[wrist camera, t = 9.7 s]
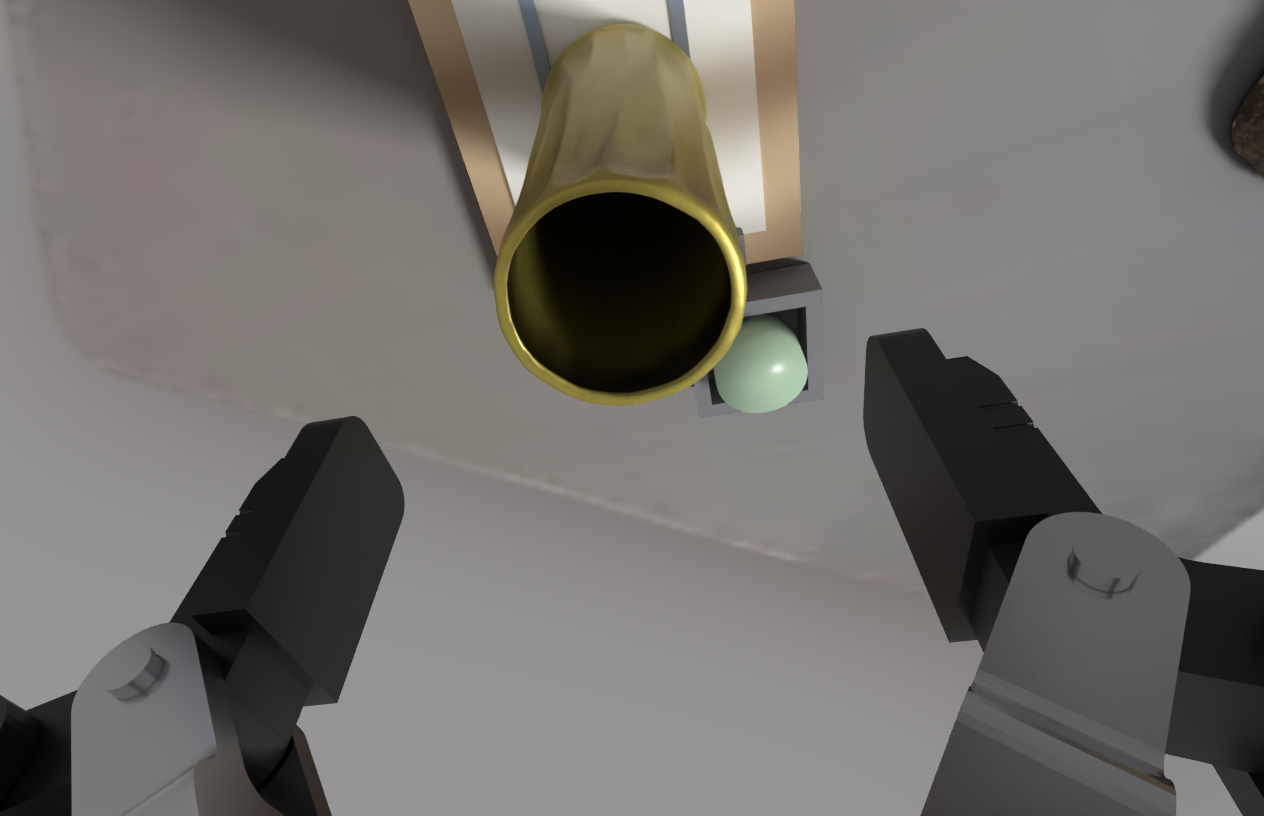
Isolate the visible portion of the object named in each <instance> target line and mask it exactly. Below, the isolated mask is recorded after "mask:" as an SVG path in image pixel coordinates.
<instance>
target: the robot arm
mask: <svg viewBox="0 0 1264 816" xmlns="http://www.w3.org/2000/svg"><path fill="white" fill-rule="evenodd" d="M863 420H864V431H865V437H866V442H867V446H868V449H869V452H870V455H871V458H872V460H873V462H874V465H875V467H876V470H877V472H878V474H879V477H880V479H881V481H882V484H883V486H884V489H885V491H886V493H887V496H888V498H889V500H890V503H891V505H892V508H893V510H894V512H895V515H896V517H897V519H898V522H899V524H900V527H901V529H902V531H903V534H904V536H905V538H906V541H907V543H908V546H909V548H910V550H911V553H912V555H913V557H914V560H915V562H916V565H917V567H918V569H919V572H920V574H921V576H922V579H923V581H924V584H925V586H926V588H927V591H928V593H929V595H930V598H931V600H932V603H933V605H934V607H935V609H936V612H937V614H938V617H939V619H940V622H941V624H942V626H943V628H944V631H945V633H946V636H947V638H948V640H949V643H950V642H960V641H969V640H978V641H979V644H980V646H981V648H982V650H983V652H984V654H983V657H982V660H981V662H980V665H979V668H978V670H977V673H976V676H975V678H974V681H973V683H972V686H970V687H969V689H968V691H967V693H966V696H965V698H964V700H963V703H962V705H961V708H960V711H959V713H958V716H957V719H956V721H955V724H954V727H953V729H952V732H951V735H950V737H949V740H948V743H947V745H946V748H945V751H944V754H943V757H942V759H941V762H940V764H939V767H938V770H937V772H936V775H935V778H934V781H933V783H932V786H931V789H930V791H929V794H928V797H927V799H926V802H925V805H924V808H923V810H922V813H921V816H1176V792H1175V787H1174V784H1173V782H1172V781H1171V780H1169V779H1167V778H1165V776H1164V770H1163V769H1164V756H1165V754H1169V755H1173V756H1178V757H1183V758H1187V759H1191V760H1196V761H1201V762H1205V763H1209V764H1212V765H1213V766H1214V768H1215V770H1216V771H1217V773H1218V775H1219V776H1220V778H1221V780H1222V782H1223V783H1224V785H1225V786H1226V788H1227V790H1228V791H1229V793H1230V795H1231V797H1232V798H1233V800H1234V801H1235V803H1236V805H1237V807H1238V808H1239V810H1240V812H1241V813H1242V815H1243V816H1264V571H1263V570H1256V569H1248V568H1240V567H1233V566H1225V565H1217V564H1211V563H1203V562H1198V561H1192V560H1187V559H1183V558H1180V557H1177V555H1176V554H1175V553H1174V552H1173V551H1172V550H1171V549H1170V548H1169V547H1168V546H1167V545H1166V544H1165V543H1164V542H1162V541H1161V540H1160V539H1158V538H1157V537H1156V536H1154V535H1153V534H1151V533H1149V532H1148V531H1146V530H1144V529H1143V528H1141V527H1138V526H1136V525H1134V524H1132V523H1130V522H1127V521H1124V520H1122V519H1119V518H1116V517H1112V516H1108V515H1104V514H1102V513H1101V511H1100V510H1099V509H1098V508H1097V506H1096V505H1095V504H1094V502H1093V501H1092V500H1091V498H1090V497H1089V496H1088V494H1087V493H1086V492H1085V490H1084V489H1083V488H1082V486H1081V485H1080V484H1079V482H1078V481H1077V480H1076V478H1075V477H1074V476H1073V474H1072V473H1071V472H1070V470H1069V469H1068V468H1067V466H1066V465H1065V464H1064V462H1063V461H1062V460H1061V458H1060V457H1059V456H1058V454H1057V453H1056V452H1055V450H1054V449H1053V448H1052V446H1051V445H1050V444H1049V442H1048V441H1047V440H1046V438H1045V437H1044V436H1043V434H1042V433H1041V432H1040V430H1039V429H1038V428H1034V425H1033V421H1032V420H1031V418H1030V417H1029V416H1028V414H1027V413H1026V411H1025V410H1024V409H1023V407H1022V406H1018V401H1017V399H1016V398H1015V397H1014V395H1013V394H1012V393H1011V391H1010V390H1009V389H1008V387H1007V386H1006V385H1005V383H1004V382H1003V381H1002V379H1001V378H1000V377H999V375H997V374H995V373H994V372H992V371H990V370H989V369H987V368H986V367H984V366H982V365H981V364H979V363H977V362H976V361H974V360H973V359H971V358H969V357H968V356H965V357H959V358H952V359H946V358H945V356H944V355H943V353H942V352H941V350H940V349H939V347H938V346H937V344H936V343H935V341H934V340H933V338H932V337H931V335H930V334H929V332H928V331H927V330H926V329H924V328H919V329H913V330H907V331H900V332H894V333H887V334H881V335H875V336H870V337H869V339H868V342H867V347H866V366H865V388H864V411H863ZM239 511H240V515H236V516H235V517H234V519H233V520H232V522H231V524H230V525H229V527H228V529H227V530H226V537H224V538H221V540H220V541H219V543H218V545H217V546H216V548H215V550H214V551H213V553H212V554H211V556H210V558H209V559H208V561H207V562H206V564H205V566H204V568H203V569H202V571H201V572H200V574H199V575H198V577H197V579H196V580H195V582H194V584H193V585H192V587H191V588H190V590H189V592H188V593H187V595H186V596H185V598H184V600H183V601H182V603H181V605H180V606H179V608H178V610H177V611H176V613H175V614H174V616H173V617H172V619H171V621H170V622H169V623H163V624H159V625H155V626H152V627H149V628H147V629H144V630H142V631H140V632H138V633H137V634H134V635H133V636H131V637H130V638H128V639H126V640H125V641H123V642H122V643H120V644H119V645H117V646H116V647H115V648H114V649H112V650H111V651H110V652H109V653H108V654H107V655H105V656H104V657H103V658H102V659H101V660H100V661H99V662H98V663H97V664H96V665H95V666H94V667H93V669H92V670H91V671H90V673H89V674H88V675H87V676H86V678H85V679H84V681H83V682H82V684H81V685H80V687H79V689H78V690H76V691H74V692H71V693H69V694H66V695H64V696H61V697H59V698H56V699H54V700H52V701H49V702H46V703H44V704H41V705H39V706H36V707H34V708H32V709H29V710H27V711H25V710H24V709H22V708H20V707H19V706H17V705H15V704H14V703H12V702H11V701H9V700H7V699H6V698H4V697H3V696H1V695H0V816H332V815H331V811H330V808H329V806H328V802H327V799H326V796H325V794H324V790H323V788H322V784H321V781H320V778H319V775H318V772H317V769H316V766H315V764H314V760H313V757H312V754H311V751H310V748H309V745H308V743H307V739H306V737H305V734H304V732H303V731H302V730H301V729H300V728H299V727H298V726H297V725H296V723H297V720H298V718H299V716H300V713H301V710H302V708H303V706H312V705H322V704H331V703H337V702H338V699H339V696H340V693H341V691H342V687H343V685H344V682H345V679H346V677H347V674H348V671H349V668H350V665H351V662H352V660H353V656H354V654H355V651H356V648H357V645H358V643H359V640H360V637H361V634H362V631H363V629H364V626H365V623H366V620H367V617H368V614H369V612H370V609H371V606H372V603H373V600H374V597H375V595H376V592H377V589H378V586H379V583H380V581H381V578H382V575H383V572H384V569H385V566H386V563H387V561H388V558H389V555H390V552H391V549H392V546H393V544H394V541H395V538H396V535H397V532H398V529H399V527H400V524H401V521H402V518H403V514H404V495H403V490H402V486H401V484H400V481H399V479H398V478H397V476H396V474H395V472H394V471H393V469H392V467H391V466H390V464H389V462H388V461H387V459H386V458H385V456H384V454H383V452H382V450H381V449H380V447H379V445H378V444H377V442H376V440H375V439H374V437H373V435H372V434H371V432H370V430H369V428H368V427H367V425H366V424H365V423H364V422H363V420H361V419H360V418H358V417H356V416H350V417H344V418H338V419H331V420H325V421H319V422H312V423H308V424H306V425H305V426H304V427H303V428H302V430H301V431H300V433H299V434H298V436H297V438H296V440H295V441H294V443H293V445H292V447H291V448H290V450H289V451H288V453H287V455H286V456H285V458H281V459H280V460H279V461H278V462H277V463H276V464H275V465H274V466H273V467H272V468H271V469H270V470H269V471H268V472H267V473H266V474H265V475H264V476H263V477H262V478H261V479H259V480H258V481H257V482H256V483H255V485H254V486H253V488H252V490H251V491H250V493H249V495H248V496H247V498H246V500H245V501H244V503H243V504H242V506H241V508H240V509H239Z"/></svg>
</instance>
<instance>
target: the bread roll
mask: <svg viewBox="0 0 1264 816" xmlns="http://www.w3.org/2000/svg"><path fill="white" fill-rule="evenodd" d="M1231 134H1232V139H1233V142H1234V145H1235V149H1234V151H1235V152H1237V153H1238V154H1240V155H1242V156H1243V157H1244V158H1245V159H1246V160H1247V161H1248V162H1250V163H1251V165H1252V166H1253V167H1254V168H1255V170H1257V171H1258V172H1259V173H1260V174H1261V175H1262V176H1263V177H1264V74H1263V75H1262V77H1261V78H1260V79H1259V80H1258V81H1257V82H1256V84H1255V85H1254V86H1253V87H1252V88H1251V90H1250V92H1249V93H1248V95H1247V97H1246V98H1245V100H1244V102H1243V104H1242V106H1241V108H1240V110H1239V112H1238V114H1237V116H1236V118H1235V120H1234V123H1233V125H1232V133H1231Z"/></svg>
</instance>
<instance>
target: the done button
mask: <svg viewBox="0 0 1264 816" xmlns="http://www.w3.org/2000/svg"><path fill="white" fill-rule="evenodd" d="M713 369H714V374H715V380H716V385H717V390H718V392H719V394H720V396H721V397H722V399H723V400H724V401H725V402H726V403H727V404H728V405H730V406H731V407H733V408H735V409H737V410H740V411H743V412H749V413H764V412H769V411H773V410H776V409H779V408H781V407H783V406H785V405H787V404H788V403H790V402H791V401H792V400H793V399H795V398H796V397H797V395H798V394H799V393H800V392H801V390H802V389H803V387H804V385H805V383H806V380H807V376H808V368H807V363H806V360H805V357H804V355H803V352H802V349H801V347H800V344H799V341H798V339H797V336H796V334H795V332H794V331H793V329H792V328H791V327H790V326H789V325H788V324H787V323H786V322H784V321H783V320H781V319H779V318H776V317H773V316H769V315H752V316H747V317H744V318H743V322H742V327H741V329H740V330H739V332H738V334H737V336H736V338H735V340H734V342H733V344H732V346H731V347H730V349H729V351H728V352H727V353H726V354H725V355H724V357H723V358H722V359H721V360H720V361H719V362H718V363H717V364H716V365H715V366H714V367H713Z"/></svg>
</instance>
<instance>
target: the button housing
mask: <svg viewBox="0 0 1264 816" xmlns="http://www.w3.org/2000/svg"><path fill="white" fill-rule="evenodd" d="M746 277H747V297H746V306H745V311H744V316H743V318H744V317H747V316H752V315H769V316H773V317H776V318H779V319H781V320H783V321H784V322H786V323H787V324H788V325H789V326H790V327H791V328H792V329H793V331H794V332H795V334H796V336H797V339H798V341H799V344H800V347H801V349H802V352H803V355H804V357H805V360H806V363H807V368H808V376H807V380H806V383H805V385H804V387H803V389H802V390H801V392H800V393H799V394H798V395H797V397H796V398H795V399H793V400H792V401H791V402H790V403H788V404H787V405H789V404H796V403H803V402H809V401H816V400H823V399H824V388H823V305H822V288H821V286H820V284H819V282H818V280H817V278H816V276H815V273H814V271H813V269H812V267H811V265H810V263H807V264H801V265H796V266H790V267H784V268H779V269H773V270H767V271H761V272H756V273H750V274H746ZM694 388H695V394H696V400H697V406H698V412H699V418H703V417H710V416H716V415H723V414H730V413H736V412H743V411H740V410H737V409H735V408H733V407H731V406H730V405H728V404H727V403H726V402H725V401H724V400H723V399H722V397H721V396H720V394H719V392H718V390H717V385H716V380H715V374H714V369H713V368H712V369H711V370H710V371H709V372H708V373H707V374H706V375H705V376H704V377H702V378H701V379H700V380H698V381H697V382H696V383H695V384H694Z"/></svg>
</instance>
